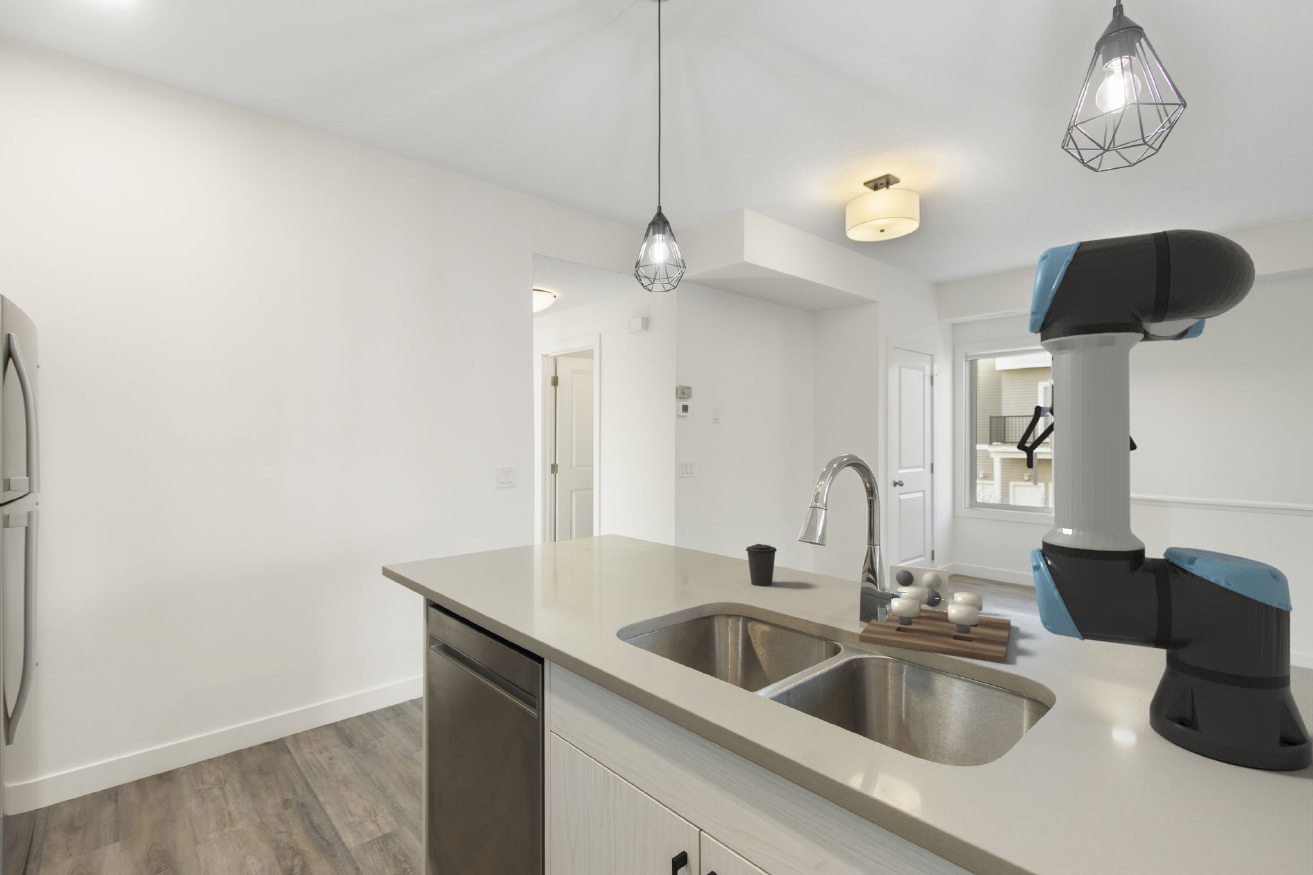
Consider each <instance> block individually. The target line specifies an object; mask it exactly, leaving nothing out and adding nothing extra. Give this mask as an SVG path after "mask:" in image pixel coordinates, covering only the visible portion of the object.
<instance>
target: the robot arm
mask: <svg viewBox="0 0 1313 875" xmlns="http://www.w3.org/2000/svg"><path fill="white" fill-rule="evenodd" d="M1255 278H1256V269H1255V264H1254V261H1253V259H1252V257H1251V255H1250V254H1249V252H1248V251H1246V250H1245V248H1244V247H1243V246H1242V245H1240V244H1238V243H1237V242H1236V241H1234V240H1232V239H1230V238H1228V237H1226V236H1224V235H1221V234H1219V233H1215V232H1210V231H1205V230H1200V229H1199V230H1198V229H1191V228H1190V229H1187V228H1186V229H1184V228H1182V229H1181V228H1180V229H1178V228H1177V229H1169V230H1163V231H1158V232H1151V233H1150V232H1149V233H1143V234H1134V235H1124V236H1118V237H1117V236H1116V237H1110V238H1108V237H1107V238H1102V239H1101V238H1100V239H1091V240H1084V241H1079V240H1078V241H1077V242H1074V243H1071V244H1066V245H1065V244H1064V245H1061V246H1060V245H1059V246H1054V247H1050V248H1048V249H1047V250H1045V251H1043V252H1042V254H1040V256H1039V258H1038V261H1037V265H1036V271H1035V278H1034V283H1033V284H1034V285H1033V290H1032V298H1031V308H1030V316H1029V320H1028V331H1029V333H1031V334H1035V335H1036V334H1040V346H1041V347H1042V348H1043V349H1045V351H1046V352H1048V353H1049V354H1051V380H1052V381H1053V382H1052V384H1051V405H1050V406H1040V405H1036V406H1035V407H1034V412H1033V417H1032V418H1031V421H1030V422H1029V424H1028V426H1027V428H1026V430H1025V431H1024V433H1023V435H1022V437H1021V438H1020V440H1019V441H1018V444H1017V445H1016V449H1017V450H1018V451H1021V452H1024V453H1025V454H1026V468H1027V469H1032V485H1033V486H1038V484H1039V483H1038V453H1037V452H1034V451H1035V450H1036V449H1037V448H1038V447H1039V446H1040V445H1041V444H1042V443H1043V442H1045V440H1046V439H1047V438H1048V437H1049V436H1050V435H1051V434H1052V433H1053V464H1054V465H1053V467H1054V468H1053V477H1054V478H1053V479H1054V481H1053V485H1054V487H1053V488H1054V491H1053V492H1054V494H1053V495H1054V499H1053V500H1054V525H1053V527H1052V528H1051V529H1050V530H1049V531H1047V533H1045V534H1044V535H1042V538H1041V540H1042V541H1041V545H1042V547H1041V548H1039V547H1036V548H1035V549H1032V550H1031V551H1030V560H1031V561H1030V562H1031V566H1032V567H1031V568H1032V574H1033V582H1034V589H1035V595H1036V596H1035V597H1036V600H1037V607H1038V611H1039V612H1038V613H1039V617H1040V621H1041V624H1042V626H1043V627H1044V628H1045V630H1046V631H1047V632H1049V633H1051V634H1053V635H1058V636H1063V637H1068V638H1073V639H1078V640H1080V641H1085V640H1086V641H1087V640H1089V641H1095V642H1104V643H1113V644H1121V645H1128V646H1134V647H1143V648H1151V649H1159V650H1160V649H1161V650H1165V656H1166V657H1165V669H1164V672H1163V673H1162V675H1161V679H1160V680H1159V683H1158V685H1157V688H1156V690H1155V693H1154V694H1153V697H1152V699H1151V702H1150V703H1149V724H1150V727H1151V728H1152V729H1153V731H1155V733H1157V734H1158V735H1160V736H1161V737H1163V738H1164V739H1166V740H1168V741H1169V742H1172V743H1173V744H1175V745H1178V746H1179V747H1181V748H1183V749H1185V750H1189V751H1192V752H1194V753H1197V754H1200V755H1202V756H1206V757H1209V758H1211V759H1215V760H1219V761H1222V762H1227V763H1231V764H1234V765H1239V766H1244V767H1245V766H1246V767H1251V768H1255V769H1256V768H1258V769H1264V770H1265V769H1266V770H1275V771H1277V770H1278V771H1279V770H1280V771H1281V770H1282V771H1285V770H1290V771H1291V770H1298V769H1303V768H1306V767H1308V766H1309V765H1310V764H1311V763H1312V761H1313V754H1312V753H1313V747H1312V746H1313V744H1312V743H1313V742H1312V739H1311V737H1310V734H1309V732H1308V729H1307V726H1306V724H1305V722H1304V720H1303V718H1302V716H1301V713H1300V710H1299V708H1298V704H1297V703H1296V701H1295V699H1294V695H1293V693H1292V690H1291V612H1292V611H1293V606H1292V603H1291V602H1292V601H1291V596H1290V595H1291V594H1290V588H1289V587H1290V585H1289V581H1288V578H1287V577H1286V575H1285V574H1284V572H1282V571H1281V570H1280V569H1278V568H1276V567H1274V566H1272V565H1270V564H1267V563H1266V562H1261V561H1258V560H1255V559H1250V558H1246V557H1242V556H1239V555H1233V554H1229V553H1224V552H1218V551H1212V550H1206V549H1200V548H1194V547H1193V548H1192V547H1191V548H1190V547H1179V546H1170V547H1167V548H1166V549H1165V552H1164V553H1162V554H1163V558H1160V557H1147V556H1146V546H1145V545H1146V544H1145V543H1144V542H1143V540H1141V539H1140V538H1138V537H1137V535H1135V534H1134V533H1133V532H1132V529H1131V452H1132V451H1135V450H1137V448H1138V446H1137V444H1136V443H1135V441H1134V439H1133V437H1132V436H1131V434H1130V433H1131V431H1130V430H1131V429H1130V427H1131V425H1130V422H1131V421H1130V419H1131V418H1130V417H1131V416H1130V413H1131V412H1130V410H1131V409H1130V352H1131V349H1133V348H1134V347H1135V346H1136V345H1137V344H1138V343H1145V342H1146V343H1147V342H1161V341H1173V342H1174V341H1182V340H1187V339H1195V338H1196V339H1197V338H1198V337H1200V336H1201V335H1202V334H1203V331H1204V328H1205V325H1206V319H1211V318H1215V317H1219V316H1220V315H1222V314H1225V313H1226V312H1228V311H1230V310H1232V309H1234V308H1235V307H1236V306H1238V305H1239V304H1241V302H1242V301H1244V299H1246V297H1247V296H1248V294H1249V293H1250V291H1251V290H1252V288H1253V285H1254V283H1255ZM1047 413H1049V414H1050V415H1051V416H1052V417H1053V421H1052V422H1051V423H1050V424H1049V425H1048V426H1047V427H1046V429H1044V431H1042V433H1041V434H1040V435H1039V436H1037V437H1036V439H1035V440H1034V441H1033V442H1032V443H1031V444H1030V445H1028V446H1027V445H1026V444H1027V442H1028V440H1029V439H1030V437H1031V435H1032V433H1033V432H1034V431H1035V428H1036V426H1037V424H1038V423H1039V421H1040V418H1043V417H1045V415H1046V414H1047Z"/></svg>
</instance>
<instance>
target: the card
mask: <svg viewBox="0 0 1313 875" xmlns="http://www.w3.org/2000/svg"><path fill="white" fill-rule="evenodd" d="M902 587H920V588H924V589H926V590H927V596H928V597H927V603H926V604H921V609H928V610H937V611H947V612H948V606H949V605H950V604H949V569H945V568H944V569H942V568H934V567H933V568H932V567H923V566H921V567H920V566H914V565H913V566H910V565H900V564H892V563H891V564H889V591H890V590H894V591H898V592H901V588H902ZM935 598H939V599H935ZM942 599H944V600H942ZM946 600H947V601H946Z"/></svg>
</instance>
